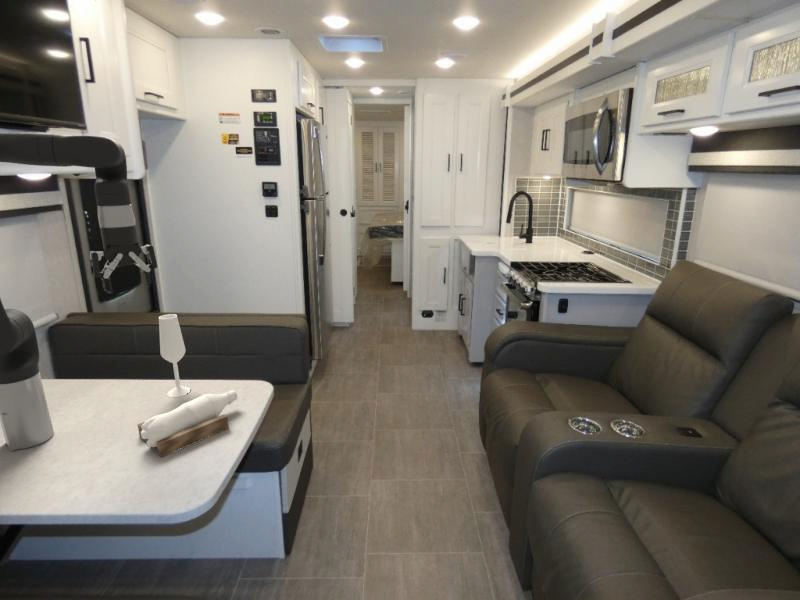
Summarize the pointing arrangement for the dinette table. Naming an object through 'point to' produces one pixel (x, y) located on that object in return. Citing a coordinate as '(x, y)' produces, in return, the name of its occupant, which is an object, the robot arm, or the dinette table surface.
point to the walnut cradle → (188, 435)
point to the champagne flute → (172, 349)
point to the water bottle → (185, 416)
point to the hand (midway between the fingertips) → (128, 289)
